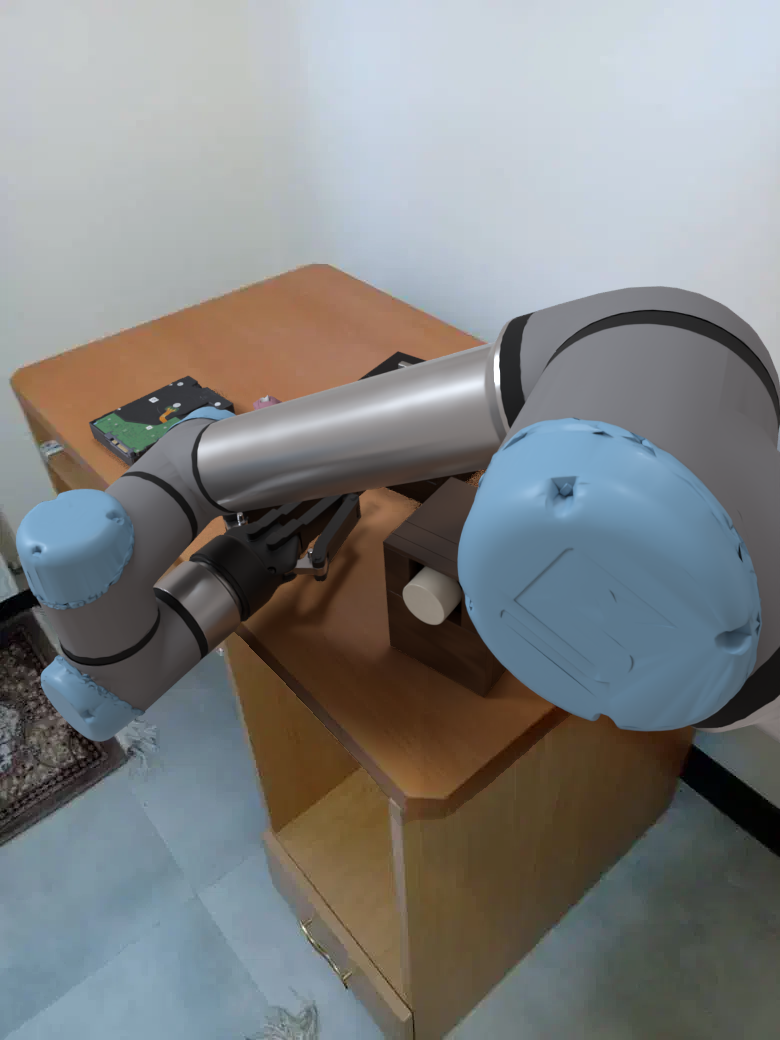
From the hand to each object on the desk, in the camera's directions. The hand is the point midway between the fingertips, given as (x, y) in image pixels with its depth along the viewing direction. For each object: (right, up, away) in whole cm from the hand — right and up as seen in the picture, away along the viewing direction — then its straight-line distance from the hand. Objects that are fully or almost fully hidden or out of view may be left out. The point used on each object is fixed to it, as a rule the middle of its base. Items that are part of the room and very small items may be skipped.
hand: (377, 456), depth 83 cm
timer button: (+5, -14, -19) cm, 24 cm away
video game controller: (-11, +2, +13) cm, 17 cm away
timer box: (+8, -17, -11) cm, 22 cm away
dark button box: (+5, -1, +8) cm, 10 cm away
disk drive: (-27, +5, +17) cm, 32 cm away
